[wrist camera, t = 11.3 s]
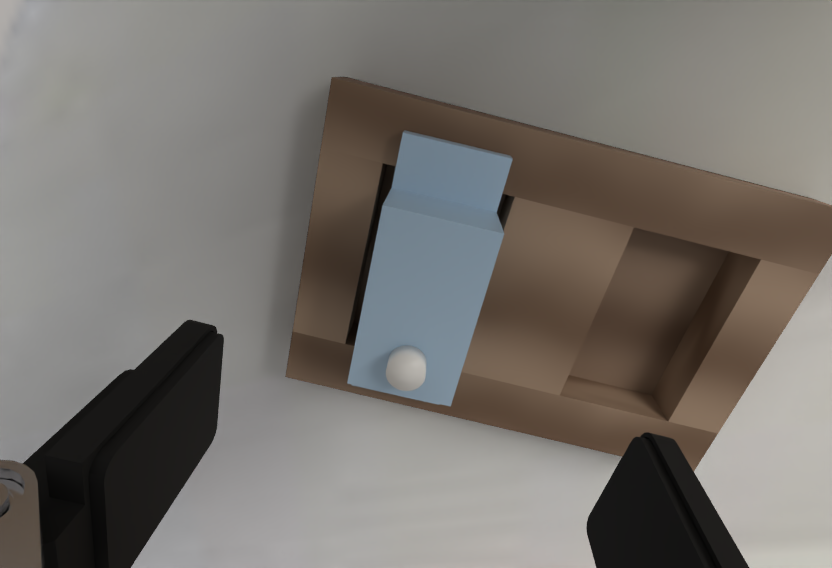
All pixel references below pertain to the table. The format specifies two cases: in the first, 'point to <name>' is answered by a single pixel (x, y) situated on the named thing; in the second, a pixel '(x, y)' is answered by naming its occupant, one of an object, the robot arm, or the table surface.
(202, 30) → the table surface
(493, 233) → the light blue drawer box
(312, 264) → the tray
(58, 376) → the table surface
